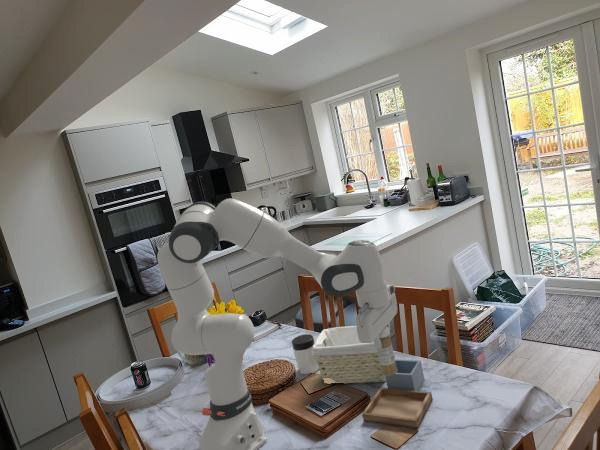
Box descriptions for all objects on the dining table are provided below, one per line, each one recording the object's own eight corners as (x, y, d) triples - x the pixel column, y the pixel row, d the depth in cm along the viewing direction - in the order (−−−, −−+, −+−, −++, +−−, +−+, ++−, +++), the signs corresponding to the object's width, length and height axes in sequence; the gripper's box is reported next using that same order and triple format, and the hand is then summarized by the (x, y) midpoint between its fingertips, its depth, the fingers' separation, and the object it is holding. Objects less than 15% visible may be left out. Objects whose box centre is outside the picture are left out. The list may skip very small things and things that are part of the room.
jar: (309, 376, 167) (301, 345, 166) (294, 372, 173) (286, 342, 172) (325, 365, 173) (318, 335, 171) (310, 361, 179) (303, 332, 177)
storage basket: (395, 360, 164) (387, 321, 162) (389, 385, 149) (380, 342, 147) (331, 364, 173) (322, 327, 170) (319, 388, 158) (309, 348, 155)
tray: (417, 428, 124) (416, 420, 124) (363, 421, 133) (362, 414, 133) (432, 399, 136) (431, 392, 135) (382, 394, 145) (380, 387, 144)
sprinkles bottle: (388, 366, 136) (379, 324, 133) (401, 370, 132) (391, 326, 130) (378, 374, 133) (368, 330, 131) (391, 378, 129) (381, 333, 127)
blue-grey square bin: (415, 394, 140) (411, 375, 139) (388, 392, 145) (384, 373, 144) (424, 379, 147) (420, 360, 146) (398, 377, 152) (394, 359, 151)
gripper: (368, 312, 119) (379, 361, 121) (396, 283, 135) (405, 327, 137) (346, 312, 122) (357, 360, 124) (376, 283, 139) (386, 326, 141)
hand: (383, 342), depth 131 cm, fingers closed on sprinkles bottle, 4 cm apart
